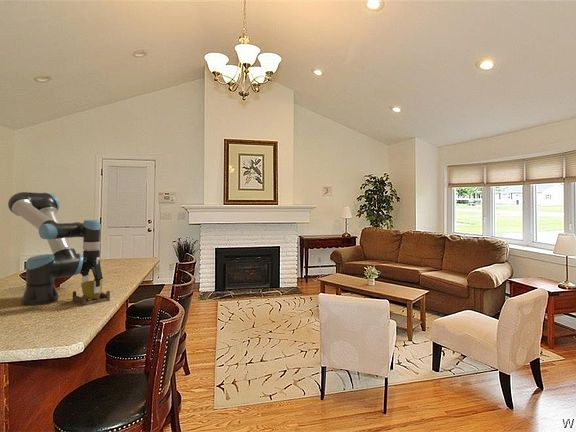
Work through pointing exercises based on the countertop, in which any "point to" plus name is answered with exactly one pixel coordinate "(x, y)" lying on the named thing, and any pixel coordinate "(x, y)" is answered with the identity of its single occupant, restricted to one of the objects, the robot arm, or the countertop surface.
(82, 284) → the flower pot
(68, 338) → the countertop surface
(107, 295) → the rack
